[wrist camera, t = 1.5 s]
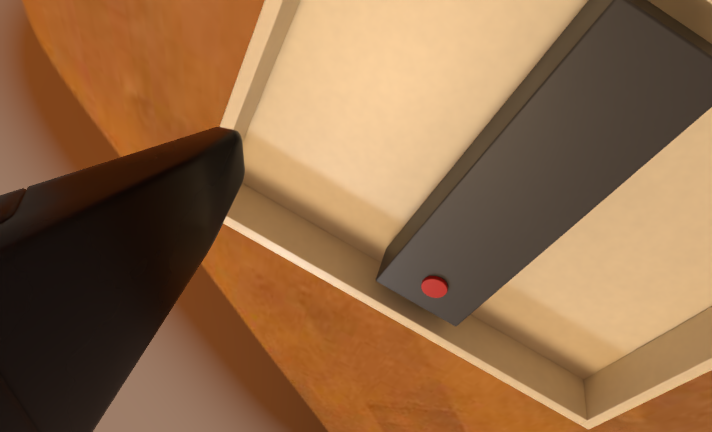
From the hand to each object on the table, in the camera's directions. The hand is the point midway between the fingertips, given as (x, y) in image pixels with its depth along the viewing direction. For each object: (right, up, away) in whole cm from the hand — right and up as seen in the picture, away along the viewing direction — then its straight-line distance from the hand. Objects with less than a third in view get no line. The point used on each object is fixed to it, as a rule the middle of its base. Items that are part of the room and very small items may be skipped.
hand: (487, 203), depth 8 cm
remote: (+5, +2, +13) cm, 14 cm away
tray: (+5, +2, +13) cm, 14 cm away
